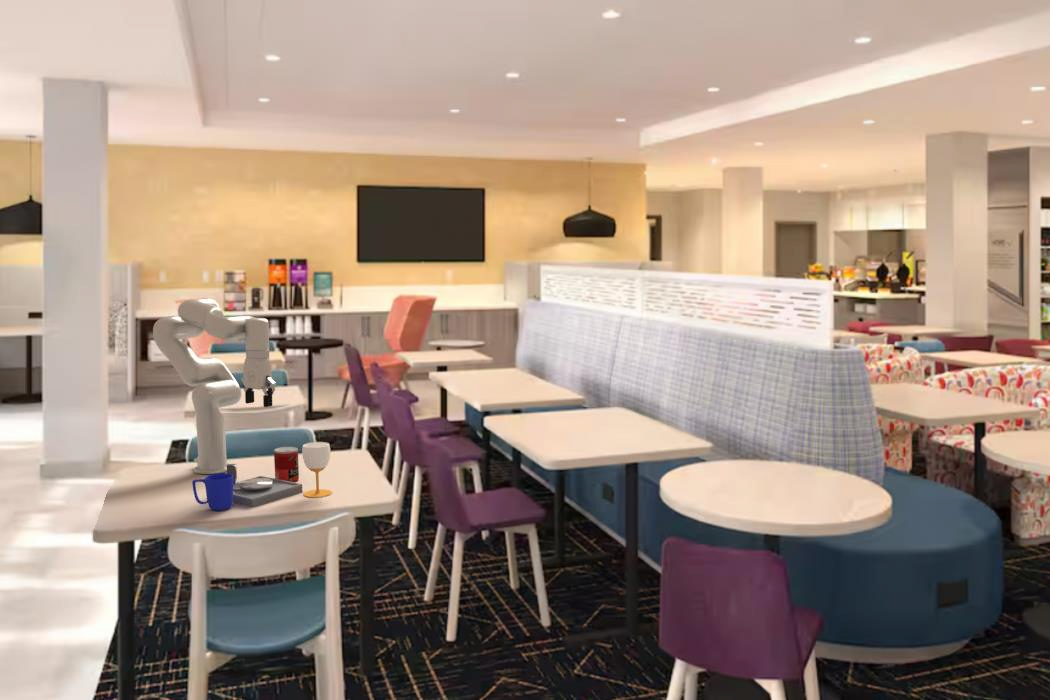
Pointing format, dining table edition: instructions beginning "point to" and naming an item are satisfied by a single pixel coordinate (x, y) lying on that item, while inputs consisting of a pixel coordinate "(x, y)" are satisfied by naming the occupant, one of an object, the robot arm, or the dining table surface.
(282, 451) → the canned food
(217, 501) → the mug
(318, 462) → the cup
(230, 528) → the dining table surface
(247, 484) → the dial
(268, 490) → the tray
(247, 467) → the dining table surface
